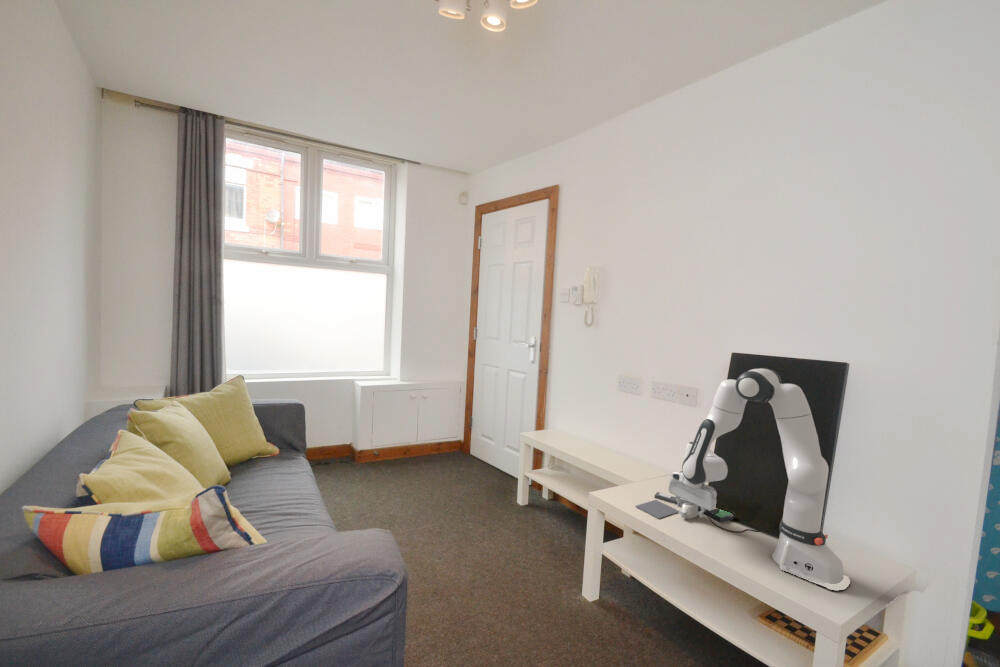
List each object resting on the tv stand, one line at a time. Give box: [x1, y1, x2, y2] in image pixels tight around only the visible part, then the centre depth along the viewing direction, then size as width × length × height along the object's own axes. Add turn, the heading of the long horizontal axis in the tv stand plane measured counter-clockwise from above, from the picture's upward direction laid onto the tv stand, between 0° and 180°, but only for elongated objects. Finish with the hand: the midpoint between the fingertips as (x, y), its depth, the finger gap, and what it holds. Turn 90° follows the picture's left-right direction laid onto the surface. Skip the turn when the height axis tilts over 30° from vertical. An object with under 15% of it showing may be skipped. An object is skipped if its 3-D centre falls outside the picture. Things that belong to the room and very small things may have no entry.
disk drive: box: [698, 506, 734, 524], centre depth 197 cm, size 10×3×15 cm
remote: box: [653, 491, 689, 505], centre depth 206 cm, size 15×4×2 cm, turn 56°
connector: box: [678, 502, 698, 520], centre depth 192 cm, size 4×11×5 cm, turn 125°
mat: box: [634, 499, 679, 520], centre depth 196 cm, size 12×14×1 cm
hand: (689, 511), depth 192 cm, fingers open, 8 cm apart
